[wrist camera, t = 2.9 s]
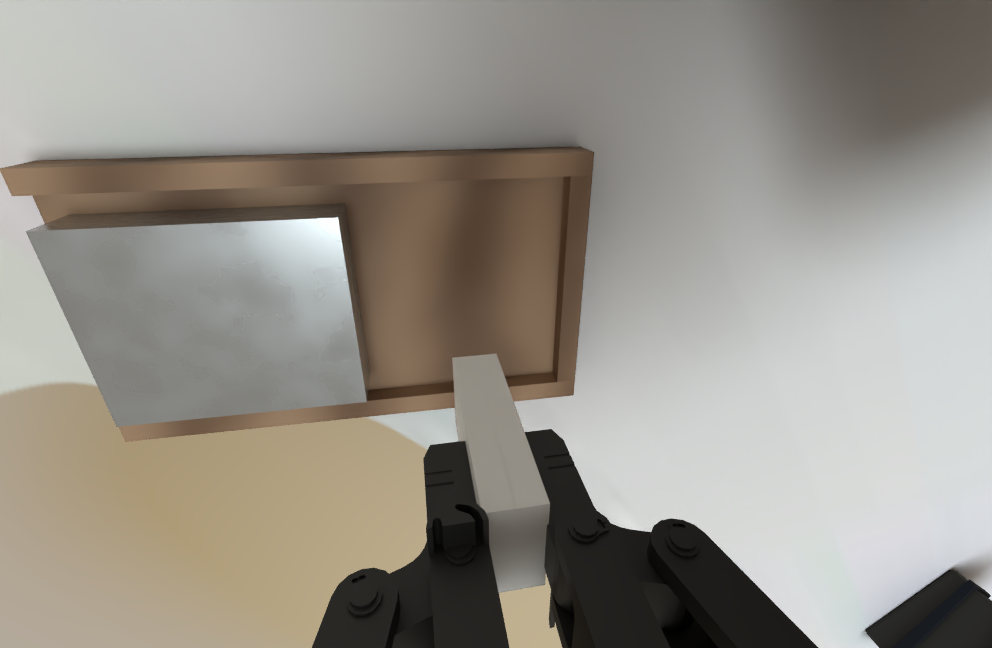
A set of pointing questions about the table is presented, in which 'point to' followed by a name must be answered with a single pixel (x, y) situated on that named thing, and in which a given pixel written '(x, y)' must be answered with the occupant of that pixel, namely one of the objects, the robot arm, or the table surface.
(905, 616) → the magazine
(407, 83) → the table surface
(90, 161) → the brown wooden tray
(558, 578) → the robot arm
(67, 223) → the cover plate
